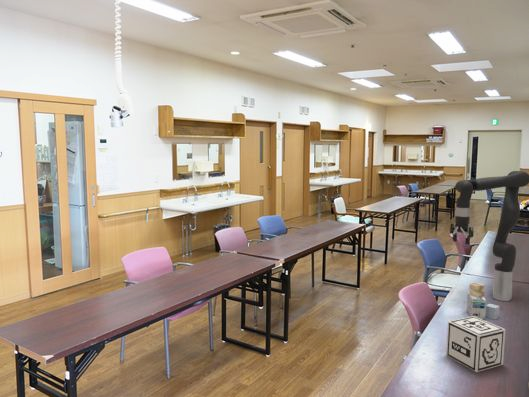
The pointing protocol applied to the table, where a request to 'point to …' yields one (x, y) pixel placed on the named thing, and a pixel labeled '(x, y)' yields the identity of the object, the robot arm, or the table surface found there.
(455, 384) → the table surface
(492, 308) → the grey-blue block
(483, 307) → the light bulb box
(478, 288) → the maple block
